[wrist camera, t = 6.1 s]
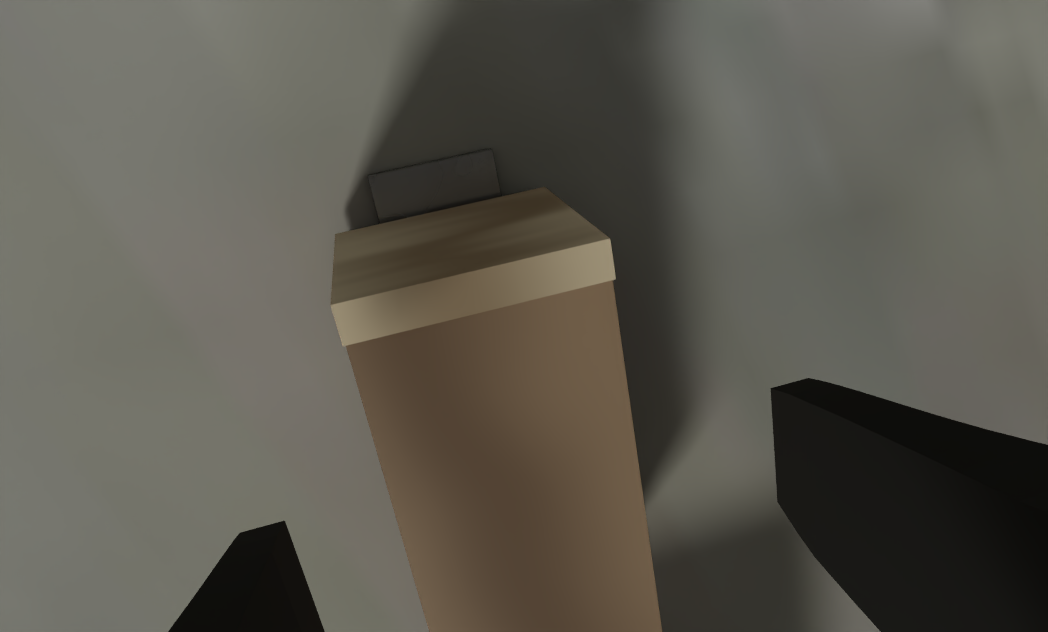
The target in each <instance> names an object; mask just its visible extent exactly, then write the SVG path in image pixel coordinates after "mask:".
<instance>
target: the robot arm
mask: <svg viewBox="0 0 1048 632" xmlns="http://www.w3.org/2000/svg"><path fill="white" fill-rule="evenodd" d="M771 402H772V418H773V435H774V451H775V467H776V484H777V500H778V503H779V505H780V506H781V508H782V509H783V511H784V512H785V514H786V516H787V517H788V519H789V520H790V522H791V523H792V525H793V526H794V528H795V529H796V531H797V532H798V534H799V535H800V537H801V538H802V540H803V541H804V542H805V544H806V545H807V547H808V548H809V550H810V551H811V552H812V554H813V555H814V557H815V558H816V559H817V560H818V561H819V562H820V564H821V565H822V566H823V567H824V568H825V569H826V571H827V572H828V573H829V574H830V575H831V576H832V577H833V579H834V580H835V581H836V582H837V583H838V584H839V585H840V587H841V588H842V589H843V590H844V591H845V592H846V593H847V594H848V596H849V597H850V598H851V599H852V600H853V601H854V602H855V603H856V605H857V606H858V607H859V608H860V609H861V610H862V611H863V612H864V613H865V615H866V616H867V617H868V618H869V619H870V620H871V621H872V622H873V624H874V625H875V626H876V627H877V628H878V629H879V630H880V631H881V632H1048V445H1046V444H1042V443H1037V442H1033V441H1029V440H1026V439H1022V438H1018V437H1014V436H1010V435H1006V434H1002V433H998V432H994V431H990V430H986V429H983V428H979V427H976V426H972V425H969V424H965V423H961V422H958V421H955V420H951V419H948V418H944V417H941V416H938V415H934V414H931V413H928V412H924V411H921V410H918V409H915V408H911V407H908V406H905V405H902V404H898V403H895V402H892V401H889V400H885V399H882V398H879V397H876V396H873V395H869V394H866V393H863V392H860V391H856V390H853V389H849V388H846V387H843V386H839V385H835V384H832V383H828V382H824V381H820V380H815V379H810V378H807V379H803V380H800V381H796V382H792V383H789V384H785V385H781V386H778V387H774V388H771ZM169 632H324V629H323V626H322V623H321V620H320V618H319V615H318V612H317V609H316V606H315V604H314V601H313V598H312V595H311V593H310V590H309V587H308V584H307V581H306V579H305V576H304V573H303V570H302V567H301V565H300V562H299V559H298V556H297V554H296V551H295V548H294V545H293V542H292V540H291V537H290V534H289V531H288V528H287V526H286V523H285V521H282V522H278V523H274V524H271V525H267V526H263V527H259V528H256V529H252V530H248V531H245V532H241V533H239V535H238V536H237V537H236V538H235V540H234V541H233V542H232V544H231V545H230V546H229V548H228V549H227V551H226V552H225V553H224V555H223V556H222V558H221V559H220V560H219V562H218V563H217V565H216V566H215V568H214V569H213V570H212V572H211V573H210V575H209V576H208V578H207V579H206V580H205V582H204V583H203V585H202V586H201V587H200V589H199V590H198V592H197V593H196V595H195V596H194V597H193V599H192V600H191V601H190V603H189V604H188V606H187V607H186V608H185V610H184V611H183V612H182V614H181V615H180V616H179V618H178V619H177V621H176V622H175V623H174V625H173V626H172V627H171V629H170V630H169Z"/></svg>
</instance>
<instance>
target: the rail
mask: <svg viewBox="0 0 1048 632" xmlns="http://www.w3.org/2000/svg"><path fill="white" fill-rule="evenodd" d="M368 179H369V183H370V187H371V191H372V195H373V199H374V203H375V207H376V211H377V215H378V218H379V222H380V224H382V223H386V222H391V221H395V220H400V219H404V218H409V217H413V216H417V215H422V214H426V213H431V212H435V211H440V210H444V209H448V208H453V207H457V206H462V205H466V204H471V203H475V202H479V201H484V200H488V199H493V198H497V197H501V193H500V187H499V182H498V177H497V172H496V167H495V161H494V156H493V151H492V149H491V148H490V149H485V150H481V151H476V152H472V153H467V154H462V155H458V156H453V157H449V158H444V159H439V160H435V161H430V162H425V163H421V164H416V165H412V166H407V167H402V168H398V169H393V170H389V171H384V172H379V173H375V174H370V175H368Z"/></svg>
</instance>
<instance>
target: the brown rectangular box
mask: <svg viewBox="0 0 1048 632" xmlns="http://www.w3.org/2000/svg"><path fill="white" fill-rule="evenodd" d="M613 280H616V276H615V269H614V262H613V255H612V247H611V240H610V238H609V237H608V236H606V235H605V234H604V233H603V232H601V231H600V230H599V229H598V228H596V227H595V226H594V225H592V224H591V223H590V222H589V221H587V220H586V219H585V218H584V217H582V216H581V215H580V214H578V213H577V212H576V211H575V210H573V209H572V208H571V207H570V206H568V205H567V204H566V203H564V202H563V201H562V200H561V199H559V198H558V197H557V196H556V195H554V194H553V193H552V192H550V191H549V190H548V189H547V188H545V187H541V188H537V189H533V190H528V191H524V192H519V193H515V194H510V195H506V196H502V197H497V198H493V199H488V200H484V201H479V202H475V203H471V204H466V205H462V206H457V207H453V208H448V209H444V210H440V211H435V212H431V213H426V214H422V215H417V216H413V217H409V218H404V219H400V220H395V221H391V222H386V223H382V224H378V225H373V226H369V227H364V228H360V229H355V230H351V231H347V232H342V233H338V234H335V247H334V262H333V277H332V292H331V308H332V311H333V315H334V318H335V322H336V325H337V328H338V332H339V335H340V339H341V342H342V345H343V346H346V348H347V351H348V355H349V358H350V361H351V365H352V368H353V372H354V375H355V379H356V382H357V385H358V389H359V392H360V396H361V399H362V403H363V406H364V409H365V413H366V416H367V420H368V423H369V426H370V430H371V433H372V437H373V440H374V444H375V447H376V450H377V454H378V457H379V461H380V464H381V468H382V471H383V474H384V478H385V481H386V485H387V488H388V492H389V495H390V498H391V502H392V505H393V509H394V512H395V516H396V519H397V522H398V526H399V529H400V533H401V536H402V539H403V543H404V546H405V550H406V553H407V557H408V560H409V563H410V567H411V570H412V574H413V577H414V581H415V584H416V587H417V591H418V594H419V598H420V601H421V605H422V608H423V611H424V615H425V618H426V622H427V625H428V629H429V632H662V626H661V619H660V612H659V605H658V598H657V591H656V584H655V577H654V570H653V563H652V555H651V548H650V541H649V534H648V527H647V520H646V513H645V506H644V499H643V492H642V485H641V477H640V470H639V463H638V456H637V449H636V442H635V435H634V428H633V421H632V414H631V407H630V399H629V392H628V385H627V378H626V371H625V364H624V357H623V350H622V343H621V336H620V329H619V321H618V314H617V307H616V300H615V293H614V286H613Z"/></svg>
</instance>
